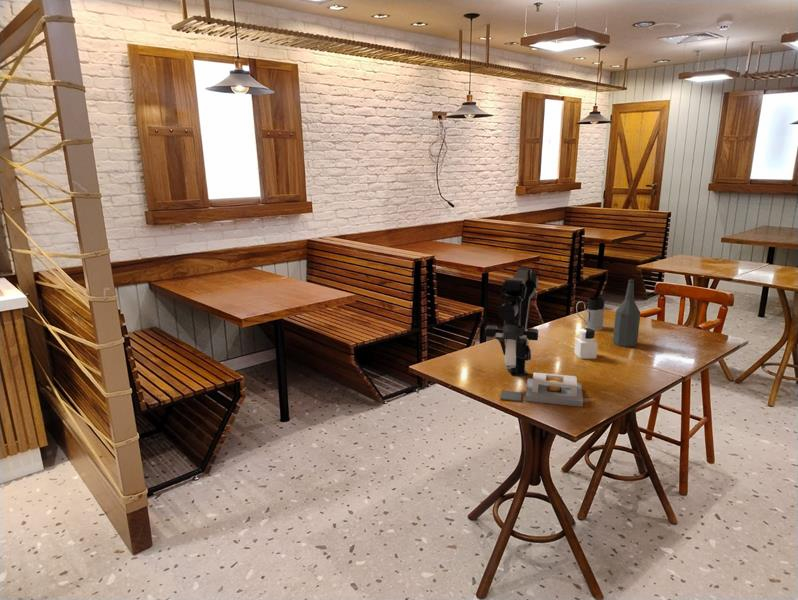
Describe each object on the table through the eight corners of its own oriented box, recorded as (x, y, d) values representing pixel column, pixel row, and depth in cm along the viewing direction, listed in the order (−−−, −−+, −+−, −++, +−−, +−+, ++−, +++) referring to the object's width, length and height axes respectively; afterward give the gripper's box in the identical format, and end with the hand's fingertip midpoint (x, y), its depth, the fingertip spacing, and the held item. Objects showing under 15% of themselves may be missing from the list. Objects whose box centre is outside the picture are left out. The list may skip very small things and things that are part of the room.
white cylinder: (503, 364, 202) (504, 336, 200) (513, 363, 203) (514, 335, 200) (506, 368, 198) (507, 339, 196) (516, 367, 199) (518, 339, 196)
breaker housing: (527, 383, 206) (528, 368, 204) (580, 388, 201) (581, 373, 199) (525, 400, 191) (526, 384, 189) (582, 406, 186) (584, 390, 184)
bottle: (631, 340, 254) (638, 277, 247) (640, 347, 245) (647, 282, 238) (609, 340, 255) (615, 277, 247) (617, 347, 245) (623, 282, 238)
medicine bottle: (590, 353, 238) (592, 326, 235) (596, 358, 231) (598, 331, 228) (574, 353, 238) (576, 326, 235) (579, 359, 231) (582, 331, 228)
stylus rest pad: (502, 391, 198) (502, 390, 198) (521, 394, 196) (521, 392, 196) (500, 399, 191) (500, 398, 191) (520, 402, 190) (520, 400, 190)
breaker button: (548, 386, 198) (548, 379, 197) (559, 387, 196) (560, 380, 196) (548, 390, 194) (548, 383, 193) (559, 391, 193) (560, 384, 192)
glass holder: (606, 330, 270) (608, 300, 267) (577, 330, 270) (579, 301, 266) (599, 325, 279) (602, 296, 275) (571, 325, 278) (574, 296, 275)
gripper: (483, 318, 191) (482, 360, 194) (538, 321, 186) (536, 365, 190) (487, 310, 201) (485, 350, 205) (539, 313, 196) (537, 354, 200)
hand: (510, 355), depth 200 cm, fingers closed on white cylinder, 4 cm apart
